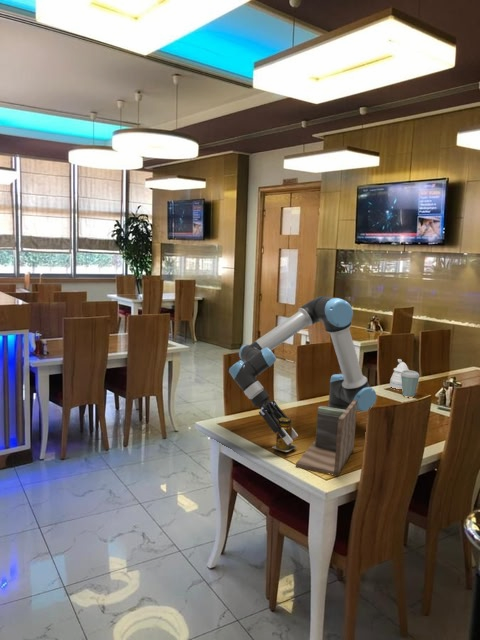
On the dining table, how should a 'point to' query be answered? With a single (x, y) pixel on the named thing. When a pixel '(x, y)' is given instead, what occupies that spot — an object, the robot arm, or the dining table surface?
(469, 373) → the dining table surface
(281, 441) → the condiment
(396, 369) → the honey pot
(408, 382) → the disposable coffee cup
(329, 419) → the wooden l-shaped bookend
